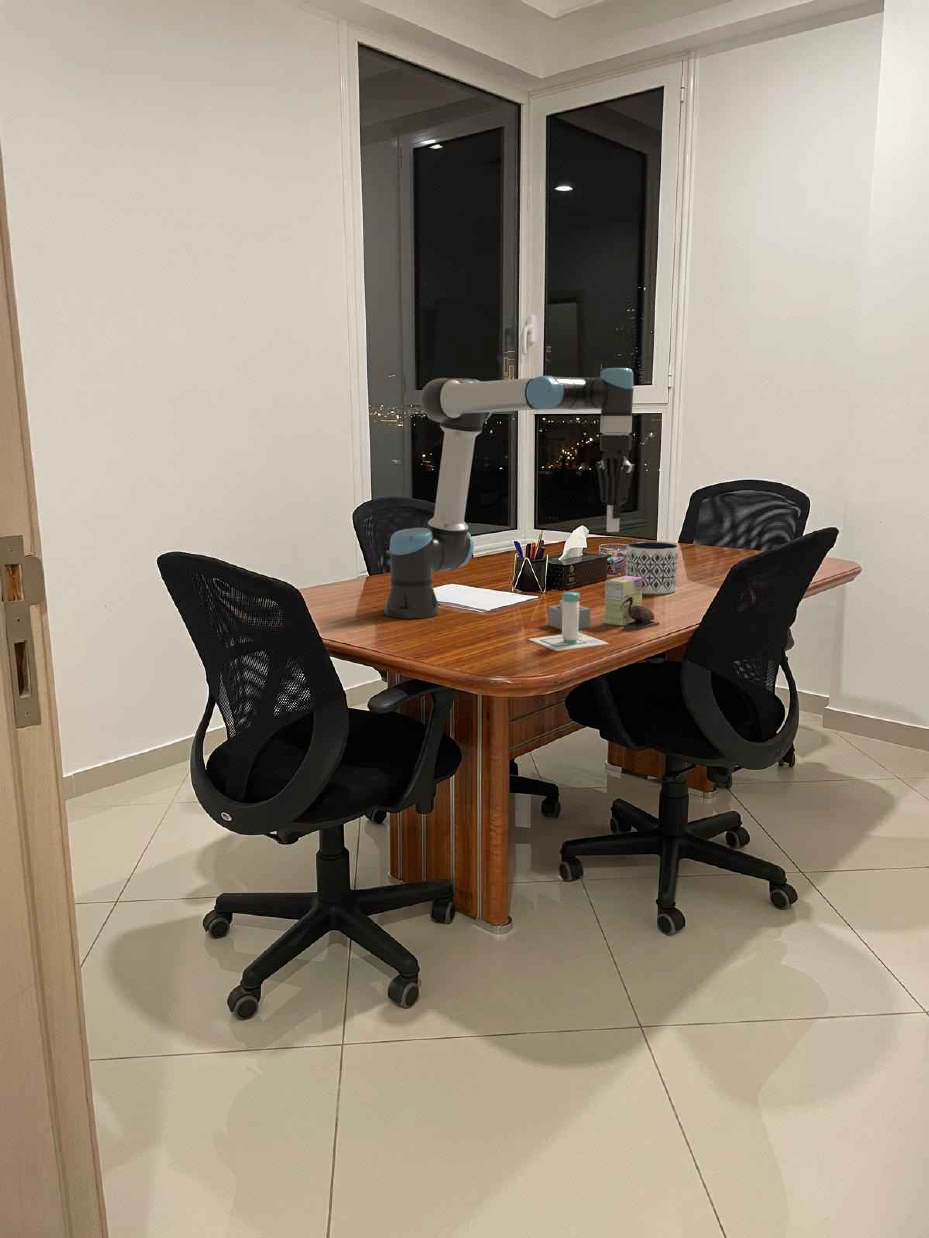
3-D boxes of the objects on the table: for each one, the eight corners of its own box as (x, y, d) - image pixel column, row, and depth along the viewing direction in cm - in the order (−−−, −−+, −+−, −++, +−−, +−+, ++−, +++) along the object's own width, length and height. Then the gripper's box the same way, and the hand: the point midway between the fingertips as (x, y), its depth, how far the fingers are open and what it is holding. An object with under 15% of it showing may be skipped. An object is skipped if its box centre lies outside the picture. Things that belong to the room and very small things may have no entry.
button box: (564, 630, 247) (564, 611, 246) (547, 624, 254) (548, 606, 252) (590, 627, 250) (590, 608, 249) (572, 621, 257) (573, 603, 256)
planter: (677, 595, 294) (679, 549, 291) (625, 594, 297) (626, 548, 294) (674, 586, 309) (676, 542, 306) (624, 585, 312) (626, 541, 309)
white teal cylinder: (567, 644, 230) (568, 595, 227) (558, 641, 234) (559, 593, 231) (582, 642, 232) (583, 594, 229) (572, 639, 235) (573, 591, 233)
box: (623, 617, 263) (624, 575, 261) (641, 620, 259) (643, 577, 257) (603, 623, 255) (604, 580, 253) (622, 626, 252) (623, 582, 249)
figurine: (627, 633, 244) (628, 600, 243) (613, 630, 248) (614, 597, 246) (659, 625, 254) (660, 593, 252) (645, 622, 257) (646, 591, 255)
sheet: (556, 651, 225) (556, 649, 225) (528, 639, 237) (528, 638, 237) (609, 644, 232) (609, 642, 232) (578, 633, 243) (579, 632, 243)
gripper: (645, 434, 227) (641, 533, 231) (612, 433, 238) (609, 528, 243) (619, 435, 223) (616, 535, 228) (587, 433, 234) (585, 529, 239)
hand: (612, 531), depth 235 cm, fingers closed
